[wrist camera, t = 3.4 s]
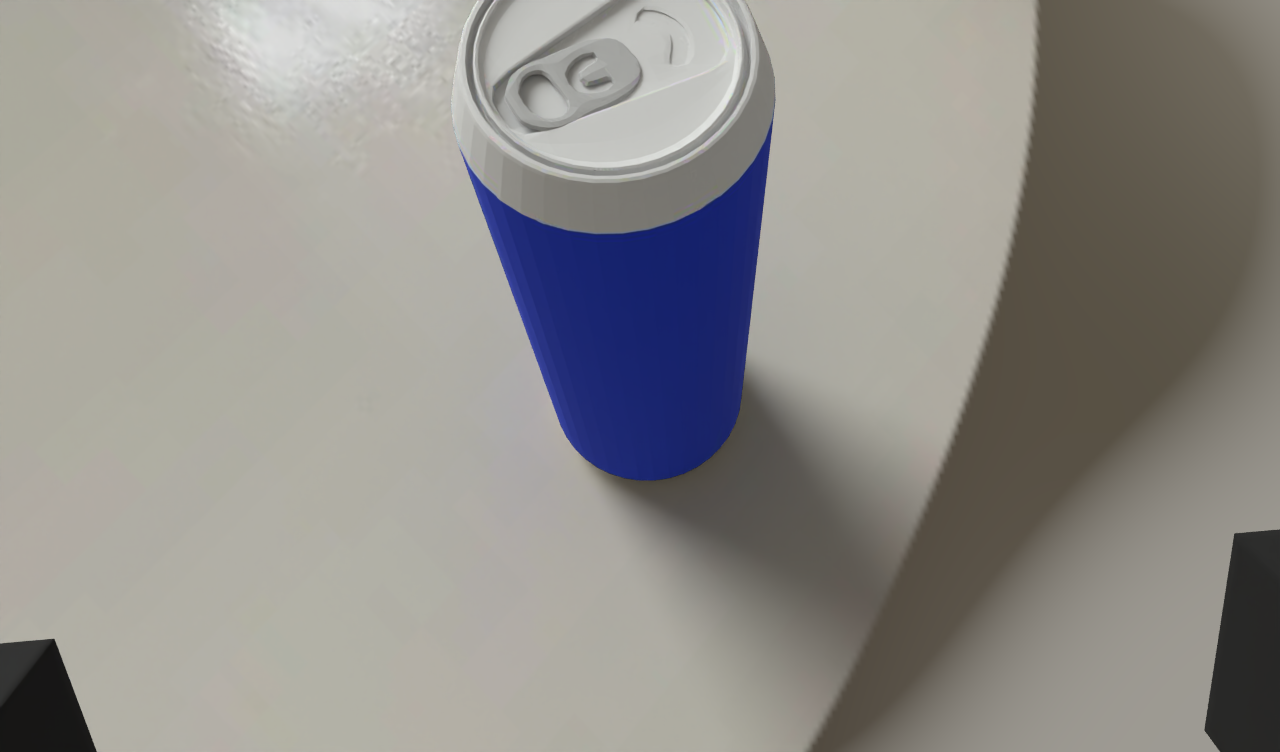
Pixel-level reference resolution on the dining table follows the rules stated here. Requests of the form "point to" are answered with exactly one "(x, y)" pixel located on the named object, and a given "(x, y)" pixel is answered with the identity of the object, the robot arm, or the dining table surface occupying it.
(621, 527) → the dining table surface
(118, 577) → the dining table surface
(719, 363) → the beverage can
